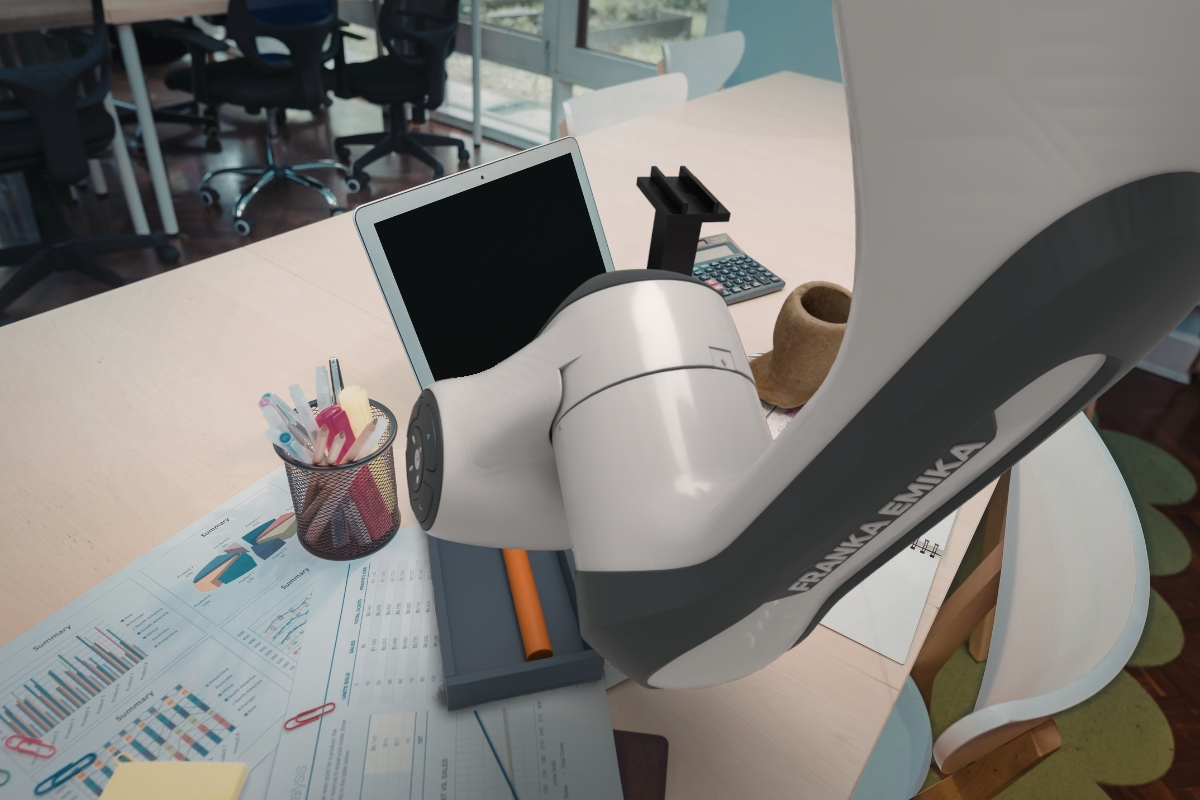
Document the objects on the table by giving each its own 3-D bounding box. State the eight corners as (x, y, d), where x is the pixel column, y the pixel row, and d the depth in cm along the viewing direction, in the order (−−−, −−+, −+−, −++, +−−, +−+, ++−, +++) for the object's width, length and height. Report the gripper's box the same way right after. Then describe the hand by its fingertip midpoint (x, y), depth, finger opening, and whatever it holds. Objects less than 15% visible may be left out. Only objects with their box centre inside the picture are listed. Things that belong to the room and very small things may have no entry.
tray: (601, 679, 61) (605, 655, 58) (448, 711, 57) (446, 686, 55) (538, 469, 80) (539, 445, 77) (419, 483, 76) (418, 459, 74)
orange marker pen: (529, 668, 60) (555, 659, 61) (524, 654, 59) (551, 646, 59) (490, 497, 75) (511, 491, 76) (485, 482, 74) (507, 476, 74)
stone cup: (795, 431, 89) (830, 328, 80) (724, 382, 96) (749, 281, 87) (865, 391, 98) (905, 293, 89) (795, 348, 104) (825, 253, 95)
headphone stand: (701, 413, 90) (751, 205, 74) (625, 421, 88) (658, 207, 71) (668, 358, 99) (706, 162, 83) (598, 364, 97) (622, 162, 80)
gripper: (806, 497, 36) (950, 505, 44) (588, 382, 52) (723, 403, 60) (766, 611, 37) (915, 599, 45) (565, 464, 53) (701, 474, 61)
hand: (804, 486), depth 53 cm, fingers open, 8 cm apart
